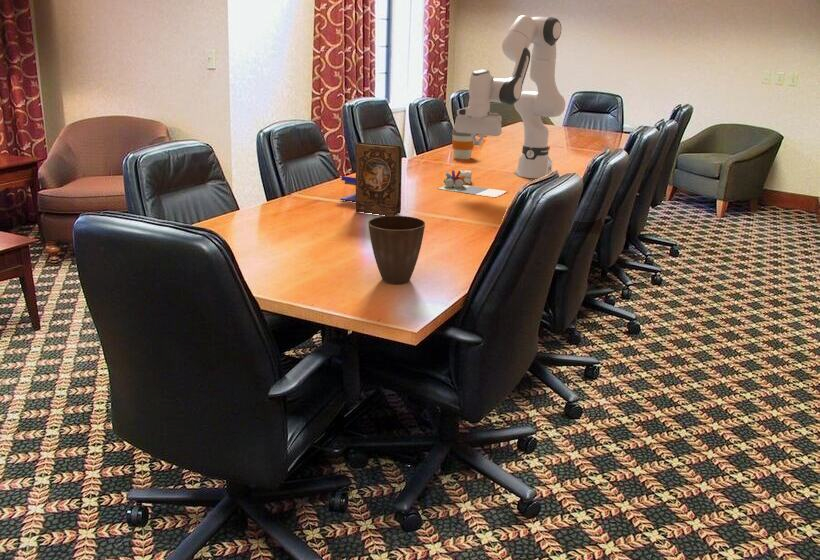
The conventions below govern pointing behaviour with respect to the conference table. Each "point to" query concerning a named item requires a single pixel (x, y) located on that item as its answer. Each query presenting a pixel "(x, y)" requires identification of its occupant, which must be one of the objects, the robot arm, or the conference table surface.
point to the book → (378, 178)
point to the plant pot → (396, 246)
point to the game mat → (475, 190)
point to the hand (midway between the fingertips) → (477, 145)
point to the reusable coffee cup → (462, 145)
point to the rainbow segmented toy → (454, 180)
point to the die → (468, 176)
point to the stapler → (351, 182)
